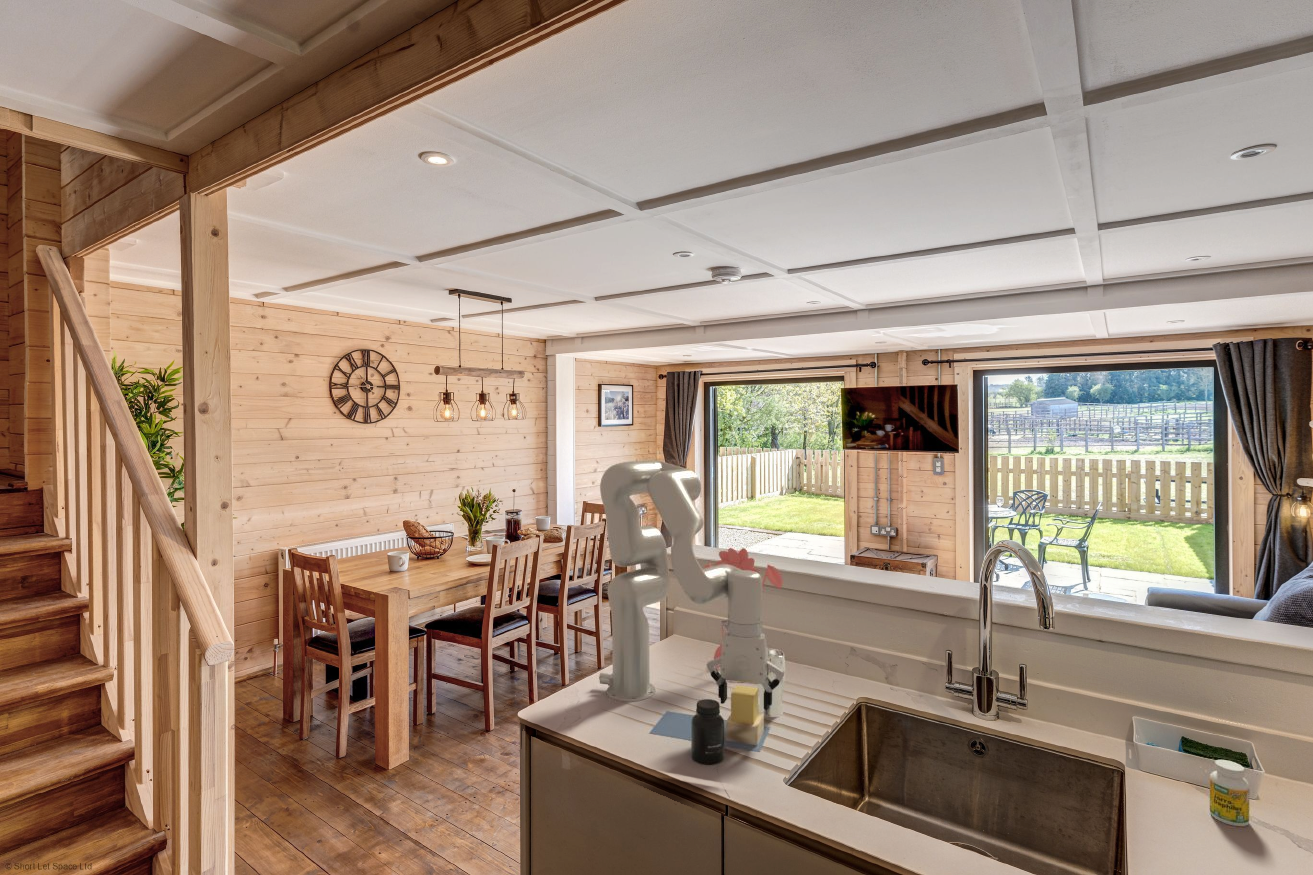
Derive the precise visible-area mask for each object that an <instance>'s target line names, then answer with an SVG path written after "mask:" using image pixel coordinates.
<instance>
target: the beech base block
mask: <svg viewBox="0 0 1313 875" xmlns="http://www.w3.org/2000/svg"><path fill="white" fill-rule="evenodd" d="M764 726H765V716H764V714H763V713H758V716H757V719H756V721H755V723H754V725H753V724H747V723H740V722H734V721H731V713H730V714H729V716H728V717H727V721H726V740H727V741H733V742H739V743H745V744H751V745H757V746H758V743H759V741H760V739H761V737H762V734H763V732H764Z"/></svg>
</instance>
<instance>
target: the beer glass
mask: <svg viewBox="0 0 1313 875" xmlns="http://www.w3.org/2000/svg"><path fill="white" fill-rule="evenodd" d="M767 650H768V660H769V662H771V663H772V664H774V665H775V666H777V667H779V668H780V669H782V670H783V671H784V672H785V674H784V676H783V678H782V680H781V681H780V683H779V685H778V686H777V687H775V688H774V689H773V690H772V705H769V707H768V710H765V709H764V691H765V688H764V687H763V686H762V684H756V686H757V688H758V713H763V714H764V717H766V718H778V717H781V716H782V715H784V710H783V701H782V700H783V699H782V698H783V693H784V686H785V681H786V659H785V652H784V651H783V650H780V649H777V648H770V647H767ZM768 677H769V679H770V680H771V681H773V680H774V679H775V678H776V674H774V673H773V672H771V671H770V670H769V674H768Z"/></svg>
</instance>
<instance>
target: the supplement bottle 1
mask: <svg viewBox="0 0 1313 875" xmlns="http://www.w3.org/2000/svg"><path fill="white" fill-rule="evenodd" d="M720 710H721V708H720V702H718V701H717V700H715V699H711V698H710V699H709V698H708V699H707V698H705V699H700V700H698V701H697V702H696V708H695V714H693V715H694V716H693V718H692V725H691V740H690V743H691V744H690V745H691V746H690V747H691V748H690V751H691V752H690V753H691V754H690V757H691V758H690V759H691V760H692V761H693V762H695V763H696V764H699V765H702V766H704V765H705V766H715V765H718V764H720V763H722V762H723V760H724V758H725V746H724V720H725V719H724V718H723V716H722V715H721V714H720V713H721V711H720Z"/></svg>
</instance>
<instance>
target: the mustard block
mask: <svg viewBox="0 0 1313 875" xmlns="http://www.w3.org/2000/svg"><path fill="white" fill-rule="evenodd" d="M730 693H731V694H730V714H731V721H734V722H740V723H747V724H753V725H754V723H755V721H756V719H757V716H758V708H759V691H758V687H750V686H744V685H743V686H742V685H735V687H734V688H733V690H732V692H730Z"/></svg>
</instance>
